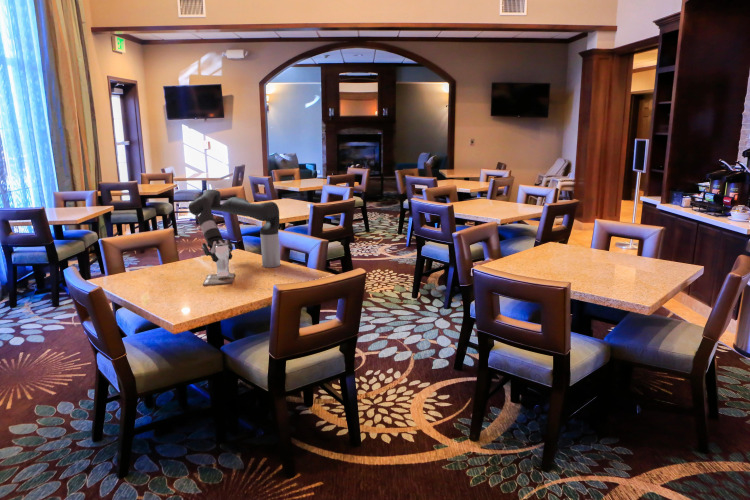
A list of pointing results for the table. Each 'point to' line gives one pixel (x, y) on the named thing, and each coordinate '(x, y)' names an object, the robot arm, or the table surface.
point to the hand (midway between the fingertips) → (223, 259)
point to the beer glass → (222, 259)
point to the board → (218, 280)
